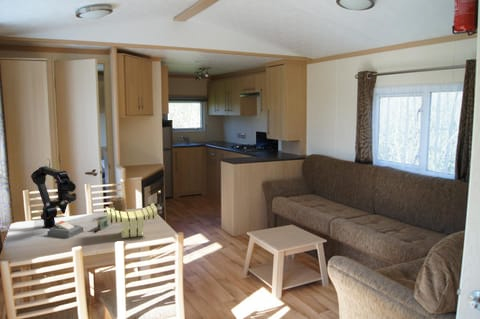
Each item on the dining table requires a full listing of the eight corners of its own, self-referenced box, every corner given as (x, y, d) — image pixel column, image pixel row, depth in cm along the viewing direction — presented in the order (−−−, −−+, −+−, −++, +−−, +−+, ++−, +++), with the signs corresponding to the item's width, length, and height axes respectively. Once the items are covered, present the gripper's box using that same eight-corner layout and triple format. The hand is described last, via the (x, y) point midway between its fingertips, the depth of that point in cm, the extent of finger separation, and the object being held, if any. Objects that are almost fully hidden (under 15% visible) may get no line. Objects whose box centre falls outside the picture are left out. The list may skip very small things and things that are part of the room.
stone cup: (111, 216, 302) (110, 196, 300) (127, 214, 308) (127, 194, 306) (115, 221, 289) (114, 200, 287) (132, 219, 294) (131, 199, 292)
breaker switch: (55, 224, 259) (56, 222, 259) (62, 222, 265) (62, 220, 264) (68, 230, 257) (68, 229, 257) (74, 228, 263) (75, 226, 262)
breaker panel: (47, 235, 257) (47, 229, 256) (63, 229, 270) (62, 222, 270) (68, 238, 253) (68, 231, 252) (83, 231, 266) (82, 224, 265)
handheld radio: (115, 222, 287) (97, 233, 262) (111, 222, 287) (92, 233, 263) (115, 213, 286) (96, 223, 261) (110, 213, 286) (92, 223, 262)
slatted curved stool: (108, 241, 247) (107, 213, 245) (107, 233, 262) (106, 206, 259) (157, 235, 257) (156, 208, 255) (154, 228, 272) (153, 202, 270)
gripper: (62, 193, 253) (64, 218, 255) (81, 187, 270) (83, 210, 273) (47, 192, 256) (49, 216, 258) (68, 187, 273) (69, 209, 276)
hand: (63, 213), depth 266 cm, fingers closed
